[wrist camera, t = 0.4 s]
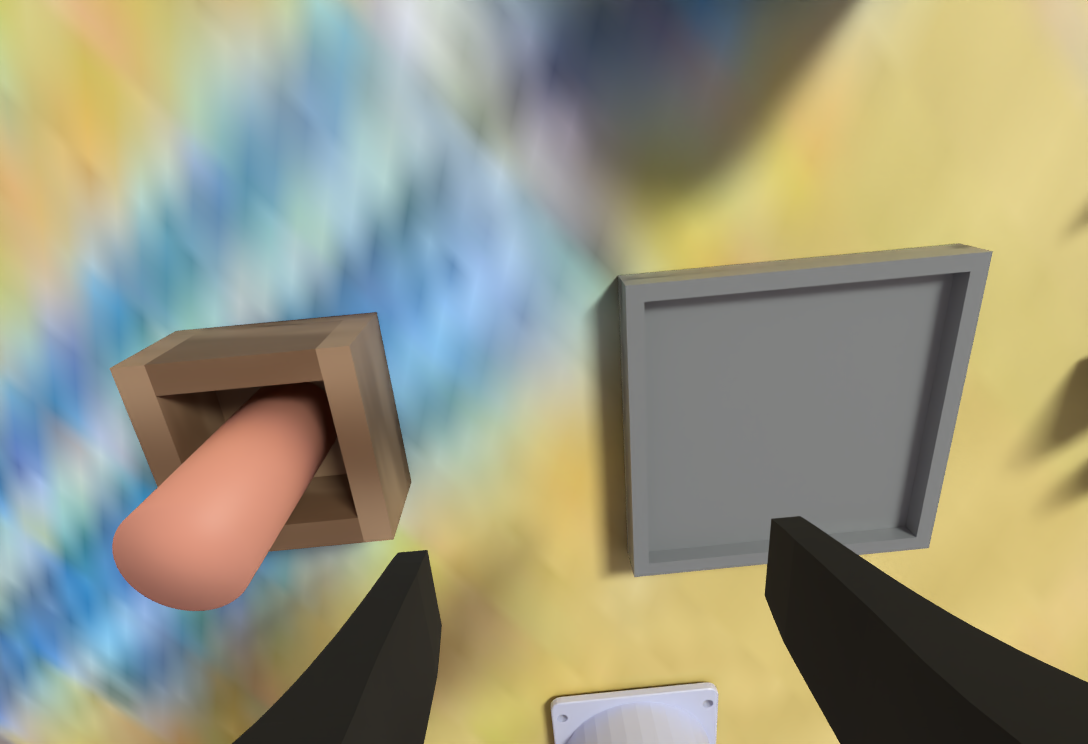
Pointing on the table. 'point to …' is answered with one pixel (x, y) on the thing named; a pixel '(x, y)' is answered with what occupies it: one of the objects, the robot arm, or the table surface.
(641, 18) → the table surface
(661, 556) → the tray
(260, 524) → the pink rounded capsule
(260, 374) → the holder
